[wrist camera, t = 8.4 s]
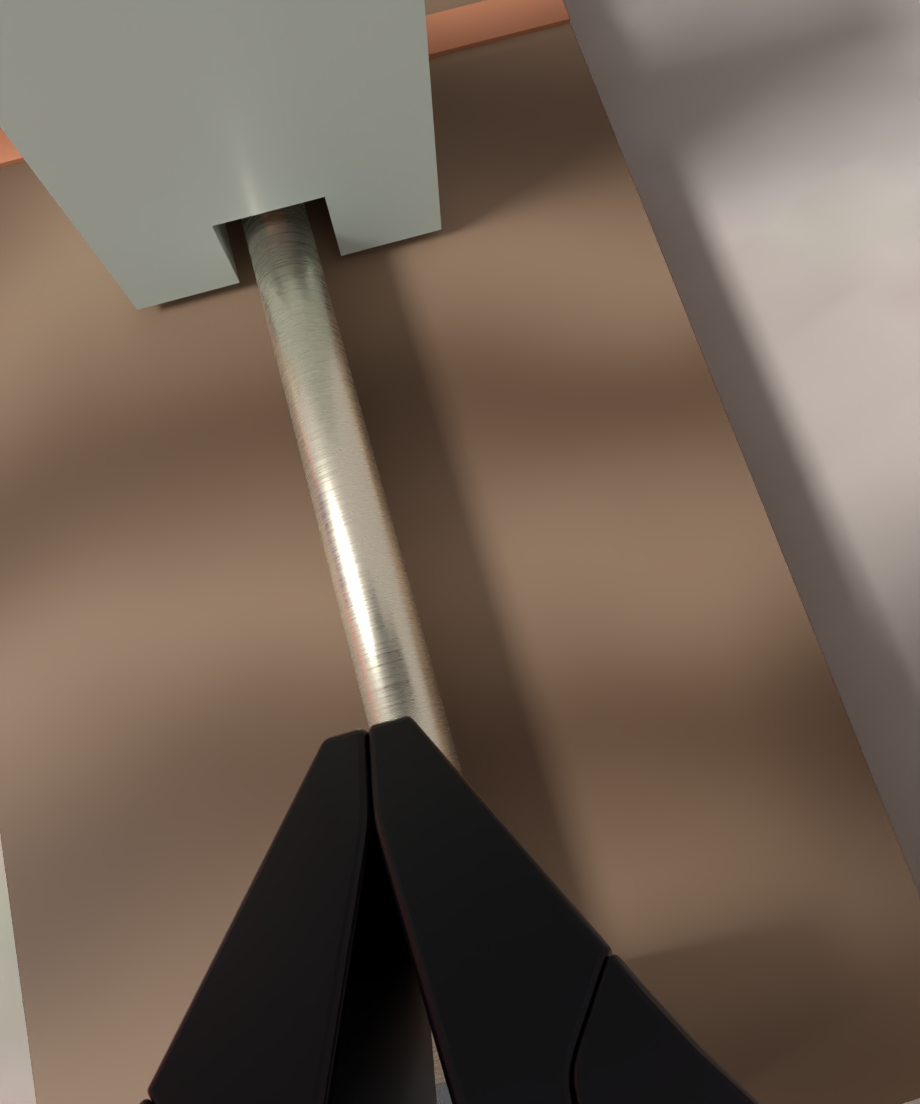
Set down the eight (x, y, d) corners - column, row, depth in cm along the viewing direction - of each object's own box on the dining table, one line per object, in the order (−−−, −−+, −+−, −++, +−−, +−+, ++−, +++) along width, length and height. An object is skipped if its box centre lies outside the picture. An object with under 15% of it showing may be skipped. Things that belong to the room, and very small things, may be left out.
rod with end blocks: (682, 1108, 13) (833, 1362, 7) (376, 1205, 13) (296, 1543, 7) (321, -49, 19) (255, -387, 14) (109, 3, 19) (-46, -318, 13)
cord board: (938, 1042, 14) (995, 1076, 12) (117, 1305, 13) (69, 1377, 12) (506, -66, 20) (508, -136, 19) (-65, 75, 19) (-112, 16, 18)
